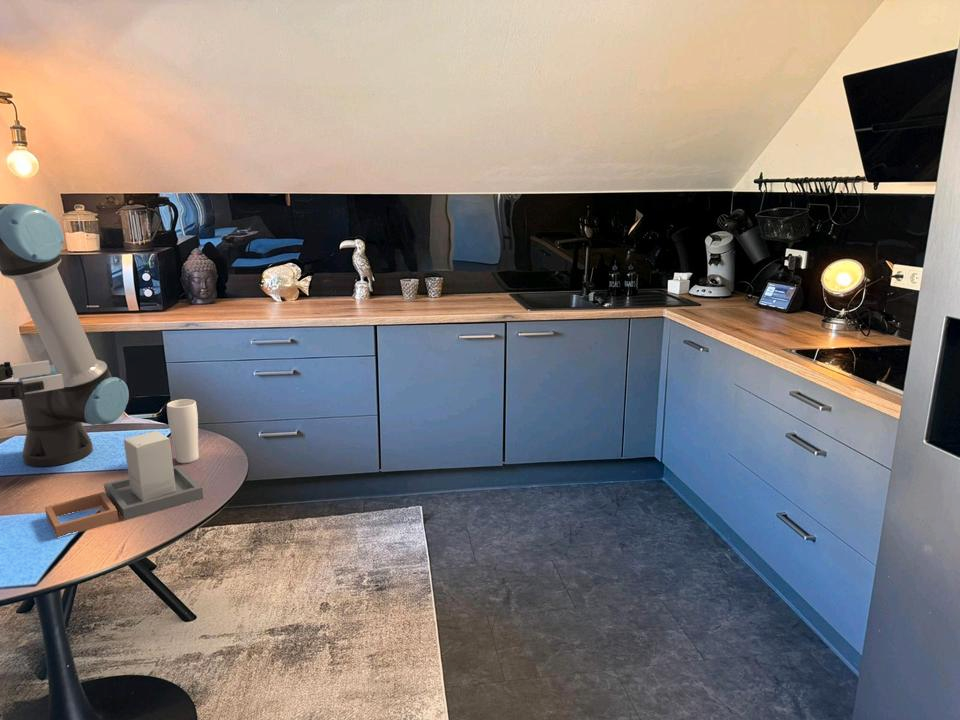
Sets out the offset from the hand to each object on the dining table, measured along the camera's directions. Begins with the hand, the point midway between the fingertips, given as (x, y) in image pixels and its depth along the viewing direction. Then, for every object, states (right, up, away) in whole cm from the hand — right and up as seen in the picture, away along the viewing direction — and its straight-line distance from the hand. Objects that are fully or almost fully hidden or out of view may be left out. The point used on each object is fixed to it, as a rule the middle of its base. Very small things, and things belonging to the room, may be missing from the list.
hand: (56, 373), depth 138 cm
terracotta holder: (+4, -30, +3) cm, 31 cm away
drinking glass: (+12, -23, +33) cm, 42 cm away
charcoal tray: (+13, -28, +14) cm, 33 cm away
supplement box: (+13, -27, +14) cm, 33 cm away
